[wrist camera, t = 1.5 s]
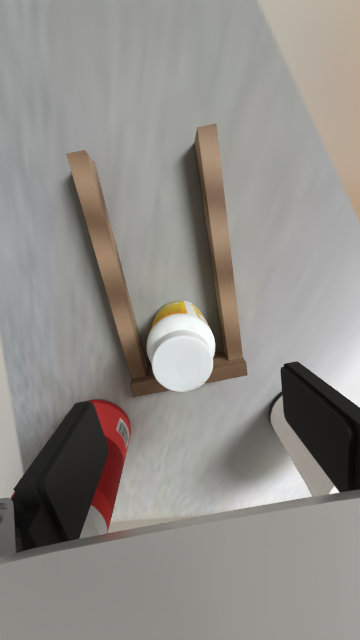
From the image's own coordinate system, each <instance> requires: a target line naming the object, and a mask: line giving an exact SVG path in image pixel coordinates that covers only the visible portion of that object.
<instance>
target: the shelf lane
mask: <svg viewBox="0 0 360 640" xmlns="http://www.w3.org/2000/svg"><path fill="white" fill-rule="evenodd" d="M195 149H196V156H197V163H198V171H199V178H200V185H201V192H202V199H203V206H204V213H205V221H206V228H207V235H208V242H209V249H210V256H211V263H212V271H213V278H214V285H215V292H216V299H217V306H218V313H219V321H220V328H221V335H222V342H223V349H224V353H219V354H214V357H213V369H212V372H211V375H210V376H209V378H208V379H207V381H206V382H205V383H209V382H215V381H220V380H225V379H230V378H236V377H241V376H246V375H247V366H246V362H245V360H244V359H243V356H242V347H241V338H240V330H239V321H238V312H237V303H236V294H235V285H234V276H233V267H232V259H231V250H230V241H229V232H228V223H227V214H226V205H225V197H224V188H223V179H222V170H221V161H220V152H219V143H218V135H217V126H216V124H212V125H207V126H202V127H197V132H196V137H195ZM67 158H68V161H69V165H70V168H71V172H72V175H73V179H74V182H75V185H76V189H77V192H78V196H79V199H80V203H81V206H82V210H83V213H84V217H85V220H86V223H87V227H88V230H89V234H90V237H91V241H92V244H93V248H94V251H95V254H96V258H97V261H98V265H99V268H100V272H101V275H102V279H103V282H104V286H105V289H106V292H107V296H108V299H109V303H110V306H111V310H112V313H113V317H114V320H115V323H116V327H117V330H118V334H119V337H120V341H121V344H122V348H123V351H124V355H125V358H126V361H127V365H128V368H129V372H130V375H131V382H130V387H131V390H132V394H133V397H136V396H141V395H146V394H152V393H157V392H162V391H167V390H169V389H167V388H165V387H164V386H162V385H161V384H160V383H159V382H158V381H157V379H156V378H155V376H154V374H153V370H152V366H151V367H147V363H146V359H145V355H144V352H143V348H142V344H141V340H140V336H139V332H138V328H137V325H136V321H135V317H134V313H133V309H132V305H131V302H130V298H129V294H128V290H127V286H126V282H125V279H124V275H123V271H122V267H121V263H120V259H119V255H118V252H117V248H116V244H115V240H114V236H113V232H112V229H111V225H110V221H109V217H108V213H107V209H106V205H105V202H104V198H103V194H102V190H101V186H100V182H99V179H98V175H97V171H96V167H95V163H94V161H93V160H92V159H91V157H90V156H89V155H88V153H87V152H86V151H85V150H83V151H78V152H73V153H69V154H67Z"/></svg>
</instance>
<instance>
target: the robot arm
mask: <svg viewBox="0 0 360 640" xmlns="http://www.w3.org/2000/svg"><path fill="white" fill-rule="evenodd" d="M281 382H282V397H283V411H284V417H285V419H286V421H287V423H288V424H289V425H290V427H291V428H292V429H293V431H294V432H295V433H296V435H297V436H298V437H299V439H300V440H301V441H302V443H303V444H304V445H305V447H306V448H307V449H308V451H309V452H310V453H311V455H312V456H313V458H314V459H315V460H316V462H317V463H318V464H319V466H320V467H321V468H322V470H323V471H324V472H325V474H326V475H327V476H328V478H329V479H330V480H331V482H332V483H333V484H334V486H335V487H336V488H337V490H338V491H339V492H340V493H333V494H327V495H320V496H314V497H308V498H302V499H296V500H291V501H285V502H279V503H273V504H268V505H262V506H256V507H250V508H244V509H239V510H233V511H228V512H222V513H216V514H211V515H205V516H200V517H194V518H189V519H183V520H178V521H172V522H168V523H161V524H156V525H150V526H145V527H140V528H134V529H129V530H123V531H118V532H113V533H107V534H102V535H97V536H91V537H86V538H81V539H79V538H80V535H81V532H82V529H83V526H84V523H85V520H86V518H87V515H88V512H89V509H90V506H91V503H92V500H93V497H94V494H95V492H96V489H97V486H98V483H99V480H100V477H101V474H102V471H103V468H104V466H105V463H106V460H107V457H108V453H109V447H108V444H107V441H106V438H105V435H104V432H103V429H102V426H101V423H100V420H99V418H98V415H97V412H96V409H95V406H94V404H93V403H90V402H89V401H85V402H79V403H76V404H75V405H74V406H73V407H72V409H71V410H70V412H69V413H68V414H67V416H66V417H65V418H64V420H63V421H62V423H61V424H60V425H59V427H58V428H57V430H56V431H55V432H54V434H53V435H52V437H51V438H50V439H49V441H48V442H47V443H46V445H45V446H44V448H43V449H42V450H41V452H40V453H39V455H38V456H37V457H36V459H35V460H34V461H33V463H32V464H31V466H30V467H29V468H28V470H27V471H26V473H25V474H24V475H23V477H22V478H21V479H20V481H19V482H18V484H17V485H16V487H15V488H14V491H15V494H14V496H13V497H12V499H9V498H2V499H0V640H360V408H359V407H358V406H357V405H355V404H354V403H353V402H351V401H350V400H349V399H347V398H346V397H345V396H343V395H342V394H340V393H339V392H338V391H336V390H335V389H334V388H332V387H331V386H330V385H328V384H327V383H326V382H324V381H323V380H322V379H320V378H319V377H318V376H316V375H315V374H314V373H312V372H311V371H310V370H308V369H307V368H306V367H304V366H303V365H301V364H300V363H299V362H291V363H286V364H284V367H282V368H281Z"/></svg>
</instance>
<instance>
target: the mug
mask: <svg viewBox="0 0 360 640" xmlns="http://www.w3.org/2000/svg"><path fill="white" fill-rule="evenodd" d="M269 416H270V422H271V425H272V427H273V429H274V430H275V432H276V434H277V436H278V437H279V439H280V441H281V442H282V444H283V446H284V448H285V449H286V451H287V453H288V454H289V456H290V458H291V459H292V461H293V463H294V465H295V466H296V468H297V470H298V471H299V473H300V475H301V477H302V478H303V480H304V482H305V483H306V485H307V487H308V489H309V491H310V493H311V495H312V497H314V496H320V495H327V494H333V493H340V492H339V491H338V490H337V488H336V487H335V486H334V484H333V483H332V482H331V480H330V479H329V478H328V476H327V475H326V474H325V472H324V471H323V470H322V468H321V467H320V466H319V464H318V463H317V462H316V460H315V459H314V458H313V456H312V455H311V453H310V452H309V451H308V449H307V448H306V447H305V445H304V444H303V443H302V441H301V440H300V439H299V437H298V436H297V435H296V433H295V432H294V431H293V429H292V428H291V427H290V425H289V424H288V423H287V421H286V419H285V417H284V411H283V397H282V392H281V393H280V394H279V395H278V396H277V397H276V398H275V400H274V401H273V403H272V405H271V408H270V412H269Z"/></svg>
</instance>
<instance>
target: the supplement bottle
mask: <svg viewBox="0 0 360 640" xmlns="http://www.w3.org/2000/svg"><path fill="white" fill-rule="evenodd" d="M214 353H215V339H214V336H213V333H212V331H211V329H210V327H209V326H208V324H207V322H206V320H205V319H204V317H203V315H202V314H201V312H200V310H199V309H198V308H197V307H196V306H195V305H193V304H192V303H190V302H187V301H183V300H175V301H171V302H169V303H167V304H165V305H164V306H162V307H161V308H160V309H159V310H158V312H157V314H156V316H155V318H154V321H153V324H152V327H151V330H150V333H149V336H148V340H147V354H148V357H149V360H150V362H151V364H152V370H153V374H154V376H155V378H156V379H157V381H158V382H159V383H160V384H161V385H162V386H164V387H165V388H167V389H169V390H172V391H177V392H187V391H191V390H194V389H196V388H198V387H200V386H201V385H203V384H204V383H205V382H206V381H207V379H208V378H209V376H210V375H211V372H212V369H213V357H214Z"/></svg>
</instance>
